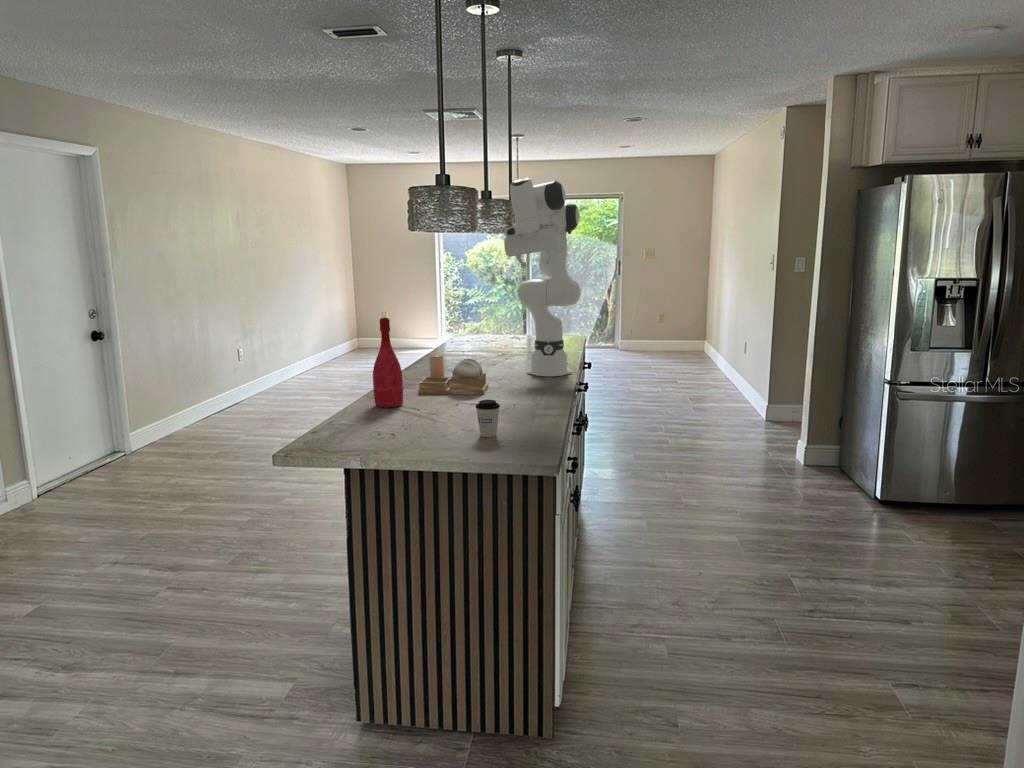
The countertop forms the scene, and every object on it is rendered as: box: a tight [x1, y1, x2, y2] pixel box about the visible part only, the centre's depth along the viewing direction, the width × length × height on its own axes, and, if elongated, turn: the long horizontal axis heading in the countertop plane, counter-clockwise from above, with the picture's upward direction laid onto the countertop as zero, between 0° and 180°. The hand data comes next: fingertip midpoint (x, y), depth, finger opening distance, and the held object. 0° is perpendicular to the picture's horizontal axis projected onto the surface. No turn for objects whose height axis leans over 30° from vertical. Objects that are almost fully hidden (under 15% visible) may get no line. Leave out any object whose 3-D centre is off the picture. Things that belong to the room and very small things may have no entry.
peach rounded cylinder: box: [428, 354, 445, 377], centre depth 268 cm, size 6×6×11 cm
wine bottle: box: [372, 317, 404, 409], centre depth 231 cm, size 10×10×30 cm
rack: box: [418, 357, 489, 395], centre depth 255 cm, size 13×24×12 cm, turn 84°
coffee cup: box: [475, 399, 501, 438], centre depth 194 cm, size 7×7×10 cm
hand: (536, 265), depth 245 cm, fingers open, 8 cm apart
